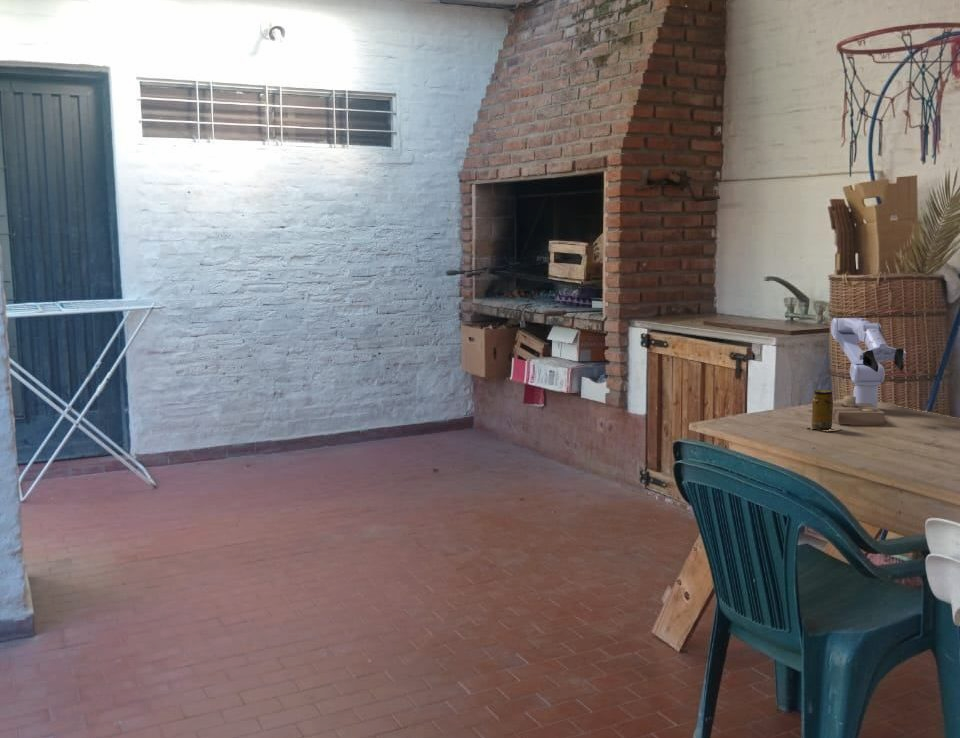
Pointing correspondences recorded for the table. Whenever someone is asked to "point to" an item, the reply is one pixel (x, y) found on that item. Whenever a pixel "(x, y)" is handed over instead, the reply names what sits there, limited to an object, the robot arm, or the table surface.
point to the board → (858, 414)
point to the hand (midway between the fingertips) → (889, 368)
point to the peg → (849, 401)
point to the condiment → (822, 410)
